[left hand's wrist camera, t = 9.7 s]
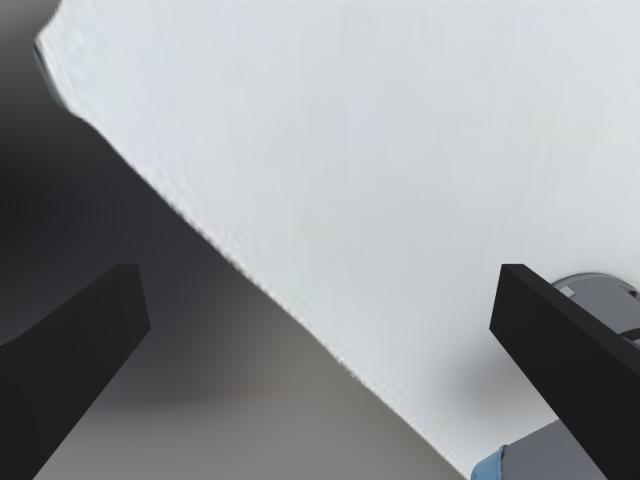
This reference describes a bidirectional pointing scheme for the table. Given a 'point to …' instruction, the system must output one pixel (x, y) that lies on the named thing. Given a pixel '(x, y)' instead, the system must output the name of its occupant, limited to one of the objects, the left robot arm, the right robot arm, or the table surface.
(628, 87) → the table surface
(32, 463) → the left robot arm
